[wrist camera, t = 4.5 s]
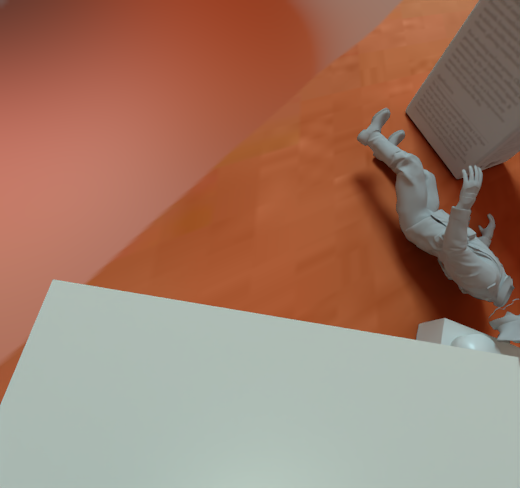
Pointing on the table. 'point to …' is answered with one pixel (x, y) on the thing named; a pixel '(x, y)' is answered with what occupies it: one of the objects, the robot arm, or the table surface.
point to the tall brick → (247, 402)
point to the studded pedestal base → (463, 337)
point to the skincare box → (475, 91)
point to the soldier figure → (445, 225)
